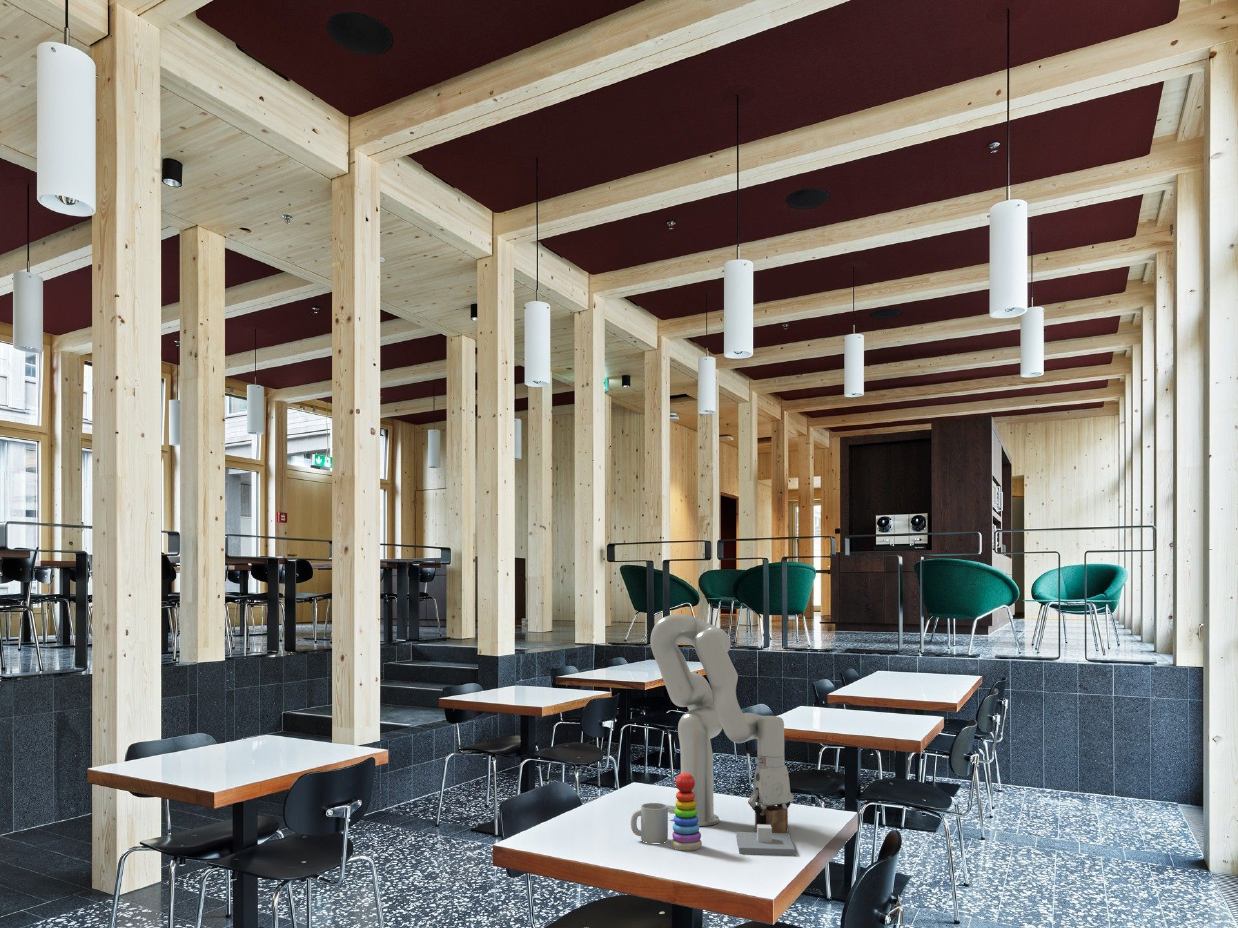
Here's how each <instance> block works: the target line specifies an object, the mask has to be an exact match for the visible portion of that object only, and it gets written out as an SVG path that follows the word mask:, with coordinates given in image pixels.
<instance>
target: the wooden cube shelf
mask: <svg viewBox="0 0 1238 928" xmlns="http://www.w3.org/2000/svg"><path fill="white" fill-rule="evenodd" d="M761 808H762V805H761ZM761 808H760V809H761ZM788 809H789V808H788ZM788 809H785V808H782V807H779V806H777V805H772V806H767V807H766V810H765V813H764V815H765V816H766V825H771V827H772V833H788V831H789V824H788V823H789V821H788V820H789V816H788V815H789V811H788ZM754 820H755V821H754V828H755V830H756V831H757V814H756V813H755V812H754Z"/></svg>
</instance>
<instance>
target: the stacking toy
mask: <svg viewBox="0 0 1238 928" xmlns="http://www.w3.org/2000/svg"><path fill="white" fill-rule="evenodd" d="M694 786H695V780H694V778H693V776H692V775H691V774H689V773H681V772H680V774H678V775H677V776H676V779H675V787H676V788H677V790H678V791H677V793H676V794H675V798H676V801H675V806H676V807H677V808H675V811H674V817H673V822H674V823H673V824H672V831H673V832H672V839H671V847H672V848H674V849H675V848H676V849H675V850H678V849H679V850H678V851H683V850H691V851H696V850H699V849H701V847H702V846H703V845H702V844H703V843H702V840H701V838H702V833H701V832H700V831H699V830H700V826H699V825H698V824H697V823H698V817H697V816H696V815H697V809H696V808H695V807H696V805H697V804H696V801H695V800H694V798H695V794H694V793H693V792H692V790H693V788H694Z"/></svg>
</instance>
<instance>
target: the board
mask: <svg viewBox="0 0 1238 928" xmlns="http://www.w3.org/2000/svg"><path fill="white" fill-rule="evenodd" d="M735 833H736V834H735V836H736V837H735V838H736V843H737V846H738V847H737V848H738V853H739V854H740V855H762V856H763V855H764V856H765V855H766V856H767V855H768V856H793V855H794V856H796V849H795V846H794V844H793V842H792V839H791V837H790V834H789V833H788V832H785V833H772V827H771V825H761V824H757V830H756V832H754V831H749V832H748V831H746V832H744V831H736V832H735Z"/></svg>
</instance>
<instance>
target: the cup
mask: <svg viewBox="0 0 1238 928" xmlns="http://www.w3.org/2000/svg"><path fill="white" fill-rule="evenodd" d="M667 805H668V804H666V803H659V802H650V803H649V802H647V803H646V802H645V803H642V804H641V806H640V809H637V810H635V811H634V812H632V815H631V818H630V829H631V831H632V833H633V834H634V835H635V836H638V837H640V840H641V842H642V841H644V842H647V843H663V844H665V843H664V842H666V841H667V842H668V837H669V828H668V827H669V820H668V819H669V816H668V815H669V812H668V806H667ZM639 817H640V829H639V828H638V823H637V821H638V818H639ZM644 842H643V843H644ZM667 842H666V843H667ZM647 843H646V844H647Z"/></svg>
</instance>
